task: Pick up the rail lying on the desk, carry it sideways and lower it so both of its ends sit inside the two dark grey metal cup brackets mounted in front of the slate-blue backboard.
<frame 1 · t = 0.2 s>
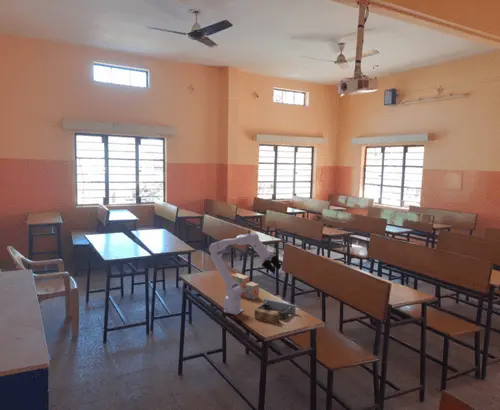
hand: (277, 269, 215), 30 cm above the table, tool tilted 45°, fingers open, 7 cm apart
cup bracket left: (263, 312, 232), on the table
cup bracket right: (283, 316, 226), on the table
backboard: (279, 310, 236), on the table
rail: (266, 320, 221), on the table
stack of blocks: (244, 294, 261), on the table
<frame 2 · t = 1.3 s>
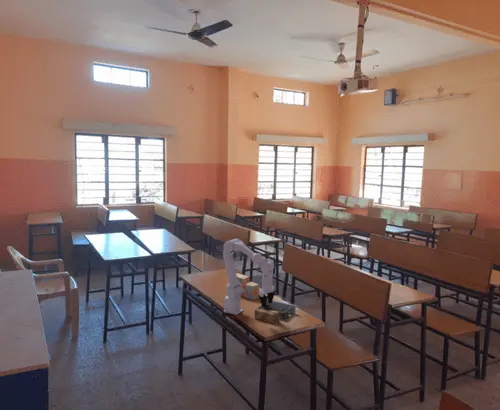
hand: (267, 305, 220), 9 cm above the table, tool pointing down, fingers open, 7 cm apart
nothing on the table moved.
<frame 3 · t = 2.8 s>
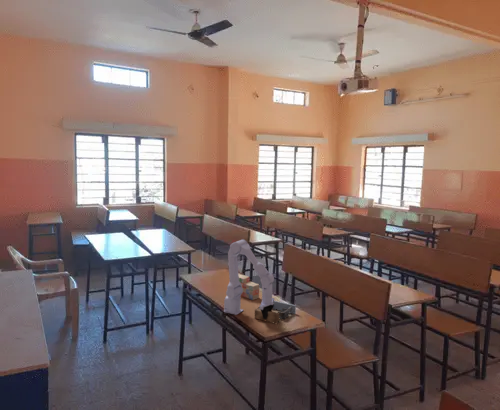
hand: (266, 317, 221), 1 cm above the table, tool pointing down, fingers closed on rail, 4 cm apart
rail: (266, 319, 221), on the table, touching gripper
everything else where it was.
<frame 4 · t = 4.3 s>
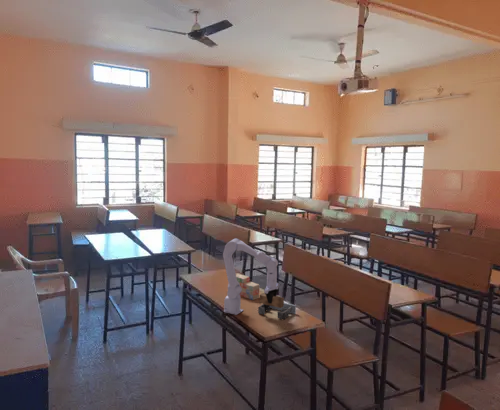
hand: (271, 301, 225), 9 cm above the table, tool pointing down, fingers closed on rail, 4 cm apart
rail: (271, 304, 225), point 7 cm above the table, touching gripper
everything else where it was.
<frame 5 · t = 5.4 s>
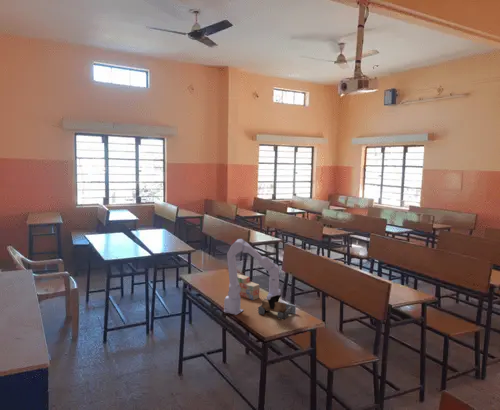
hand: (273, 307, 228), 4 cm above the table, tool pointing down, fingers closed on rail, 4 cm apart
rail: (273, 310, 228), point 3 cm above the table, touching gripper
everything else where it was.
when the fingers open (3 cm above the table, at t = 6.1 s): rail drops 1 cm, on the table.
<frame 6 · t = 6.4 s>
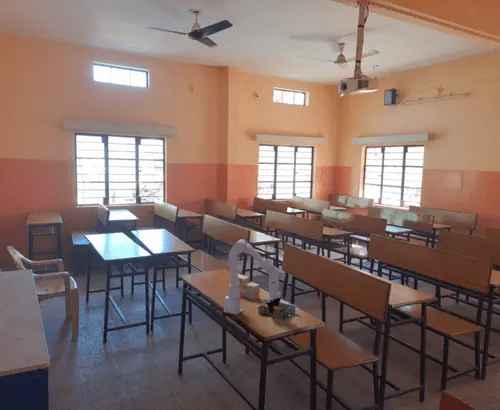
hand: (273, 310, 228), 3 cm above the table, tool pointing down, fingers open, 6 cm apart
rail: (273, 315, 229), on the table
everything else where it was.
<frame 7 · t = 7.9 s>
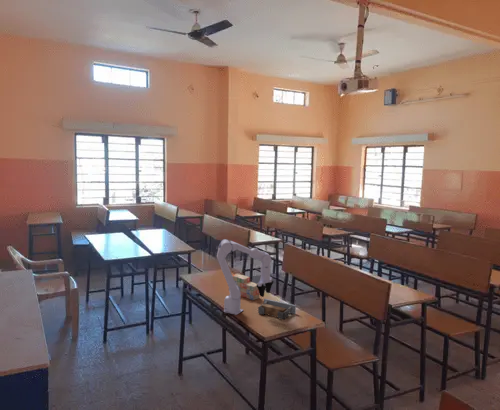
hand: (265, 294, 234), 10 cm above the table, tool pointing down, fingers open, 7 cm apart
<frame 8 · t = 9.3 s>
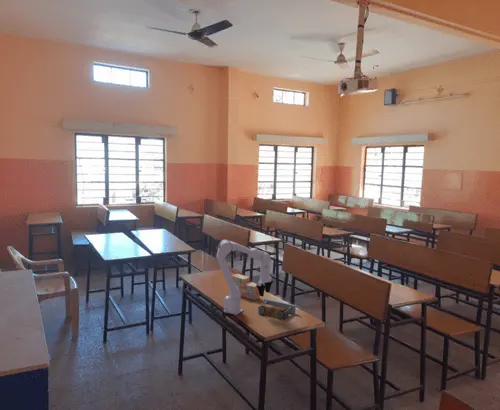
hand: (264, 294, 234), 10 cm above the table, tool pointing down, fingers open, 7 cm apart
at the end: rail 0.1 cm from the target spot, on the table; rail tilted 0°; the gripper is holding nothing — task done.
